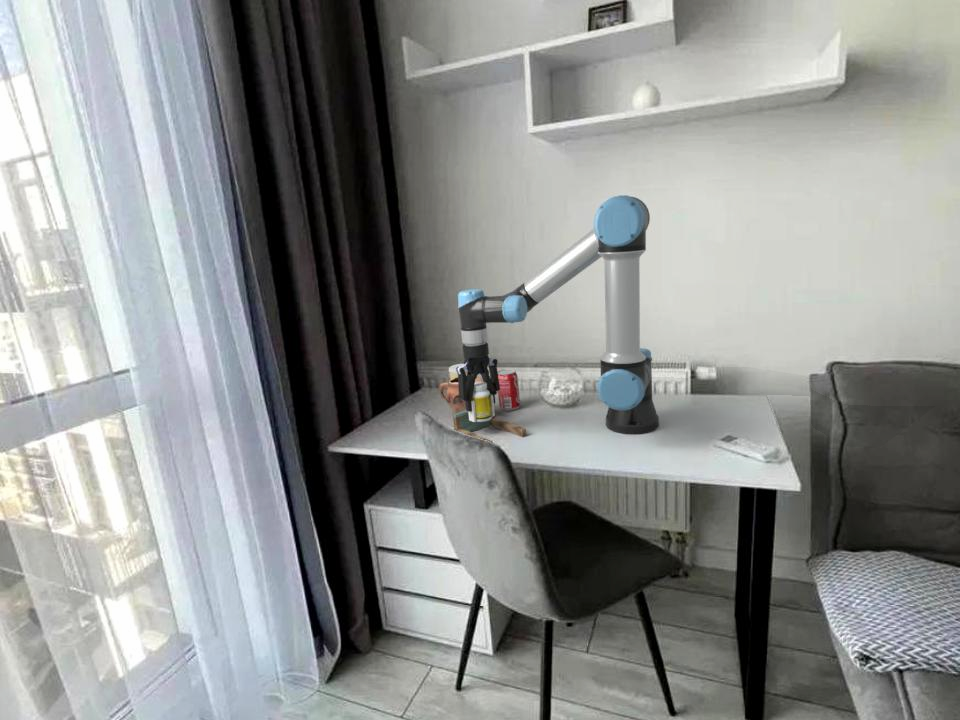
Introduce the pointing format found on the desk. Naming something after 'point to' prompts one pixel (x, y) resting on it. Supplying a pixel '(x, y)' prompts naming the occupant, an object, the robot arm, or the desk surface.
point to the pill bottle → (482, 402)
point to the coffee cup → (453, 371)
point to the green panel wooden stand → (483, 425)
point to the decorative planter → (454, 394)
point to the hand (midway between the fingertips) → (482, 417)
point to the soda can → (508, 390)
